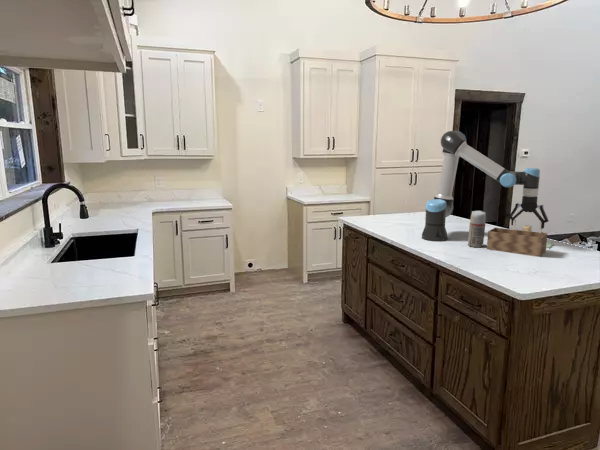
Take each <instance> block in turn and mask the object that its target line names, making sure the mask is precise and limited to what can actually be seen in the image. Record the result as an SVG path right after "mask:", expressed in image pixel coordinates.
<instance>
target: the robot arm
mask: <svg viewBox="0 0 600 450" xmlns="http://www.w3.org/2000/svg"><path fill="white" fill-rule="evenodd" d="M440 145H441V147H442V152H441V153H442V154H443V160H442V161H443V162H442V166H441V171H440V177H439V183H438V189H437V193H436V194H435V195H434V196H433V199H429V200H427V201H426V204H425V218H424V220H425V221H424V222H425V224H424V228H423V230H422V233H421V239H423V240H426V241H432V242H443V241H444V242H445V241H447V240H448V237H449V236H448V235H449V234H448V231H447V228H446V220H447V219H446V218H447V217H449V216H450V215H452V213H453V210H454V205H453V204H454V197H453V190H454V185H455V181H456V180H455V179H456V175H457V170H458V164H459V159H460V158H461V159H463V160H464V161H466V162H468V163H469V164H471V165H472V166H474V167H475V168H477V169H479V170H480V171H481V172H484V173H485V174H486V175H488V176H489V177H491V178H492V179H494V180H496V181H497V182H498V183H500V185H501V186H502V187H504V188H511V187H512V188H513V187H514V186H516V185H518V186H523V187H522V199H521V203H519V202H516V203H515V205H514V208H513V209H512V211H511V212H510V214H509V216H508V217H507V218H508V219H509V220H511V223H510V225H511V226H512V230H516V225H517V224H516V223H517V218H518V217H519V216H520V215H521V214H522V213H523V212H525V213H533V214H534V215H535V216H536V218H537V219H538V220H539V221H540V222H539V227H538V229H539V230H538V232H539V233H543V232H542V230H543V229H544V228H545V223H548V222H550V220H549V218H548V216H547V213H546V212H545V209H544V205H543V204H541V205H539V204H538V198H539V197H538V195H539V187H540V186H539V185H540V177H541V176H540V175H541V174H540V172H541V170H540V169H539V168H537V167H526V168H524V171H509V170H508V169H506V168H505V167H503V166H502V165H501V164H499V163H497V162H495V161H493V160H492V159H491V158H489V157H487V156H486V155H484V154H482V153H481V152H480V151H478V150H476V149H475V148H474V147H472V146H470V145H468V143H467V138H466V135H465V134H464V133H463V132H461V131H459V130H449V131H446V132H445V133H443V135H442V136H441V137H440ZM518 208H521V209H520V210H519V211H518V212H517V213H516V211H517V210H518ZM537 208H538V209H539V210H540V213H541V214H542V216H541V214H540V213H539V212H538V210H537ZM515 213H516V214H515ZM514 214H515V215H514Z"/></svg>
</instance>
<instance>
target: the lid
mask: <svg viewBox="0 0 600 450" xmlns="http://www.w3.org/2000/svg"><path fill="white" fill-rule="evenodd" d="M532 229H533V225H529V224H528V225H524V226H522V228H521V231H530V232H532ZM553 244H554V245H555V243H554V242H547V244H546V249H547V248H549V249H550V248H552V247H553V246H554V245H553ZM552 245H553V246H552Z"/></svg>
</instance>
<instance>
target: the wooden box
mask: <svg viewBox="0 0 600 450" xmlns="http://www.w3.org/2000/svg"><path fill="white" fill-rule="evenodd" d="M547 241H548V233H546V232H541V233H539V231H531V232H530V231H522V229H521V230H520V229H515V230H513V228H511V229H510V228H509V229H508V228H503V227H493V228H492V229H489V230H488V231H487V243H486V250H491V251H497V252H498V251H499V252H503V253H509V254H510V253H511V254H519V255H523V256H531V257H532V256H533V257H539V258H541V257H542V256H543V255H545V253H546V250H547V248H546V244H547Z"/></svg>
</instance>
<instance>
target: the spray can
mask: <svg viewBox="0 0 600 450" xmlns="http://www.w3.org/2000/svg"><path fill="white" fill-rule="evenodd" d="M486 220H487V213H486V212H485V211H483V210H474V211H473V210H471V215H470V221H469V229H468V239H467V240H468V242H467V246H469V247H472V248H483V246H484V241H485V239H484V238H485V231H486Z"/></svg>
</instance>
